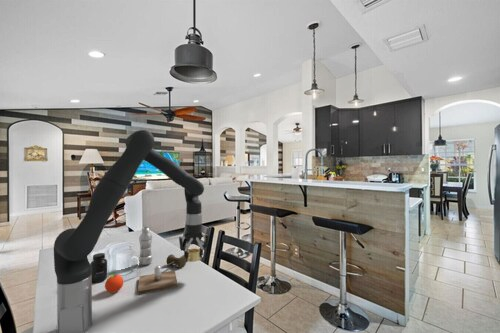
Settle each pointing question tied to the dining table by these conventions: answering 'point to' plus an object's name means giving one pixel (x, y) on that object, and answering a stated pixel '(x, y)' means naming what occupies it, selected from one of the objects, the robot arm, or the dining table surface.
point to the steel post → (157, 273)
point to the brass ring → (193, 255)
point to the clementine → (114, 283)
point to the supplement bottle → (99, 268)
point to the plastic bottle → (145, 247)
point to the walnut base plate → (157, 282)
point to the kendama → (176, 261)
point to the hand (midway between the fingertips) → (193, 257)
